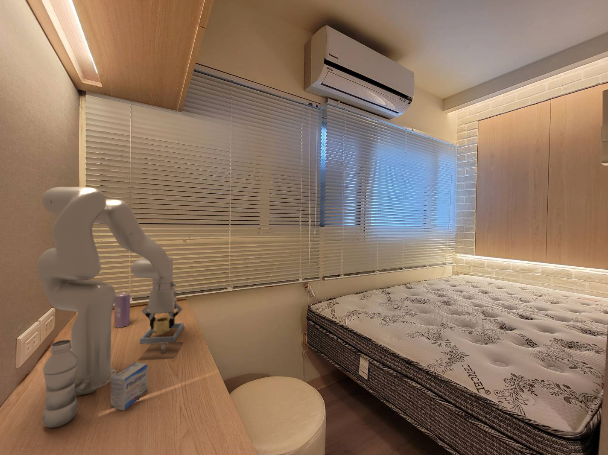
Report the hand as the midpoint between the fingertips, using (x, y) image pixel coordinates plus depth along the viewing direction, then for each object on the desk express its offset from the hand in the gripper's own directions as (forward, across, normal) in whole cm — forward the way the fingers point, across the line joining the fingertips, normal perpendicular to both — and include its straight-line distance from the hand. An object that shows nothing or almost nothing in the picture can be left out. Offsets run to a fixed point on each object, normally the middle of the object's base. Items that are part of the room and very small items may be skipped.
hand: (162, 327), depth 110 cm
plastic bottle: (+5, +9, +44) cm, 45 cm away
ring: (+1, 0, -2) cm, 2 cm away
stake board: (+5, -4, +12) cm, 14 cm away
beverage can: (+5, +23, -17) cm, 29 cm away
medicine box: (+5, -4, +38) cm, 39 cm away
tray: (+5, 0, -2) cm, 5 cm away
